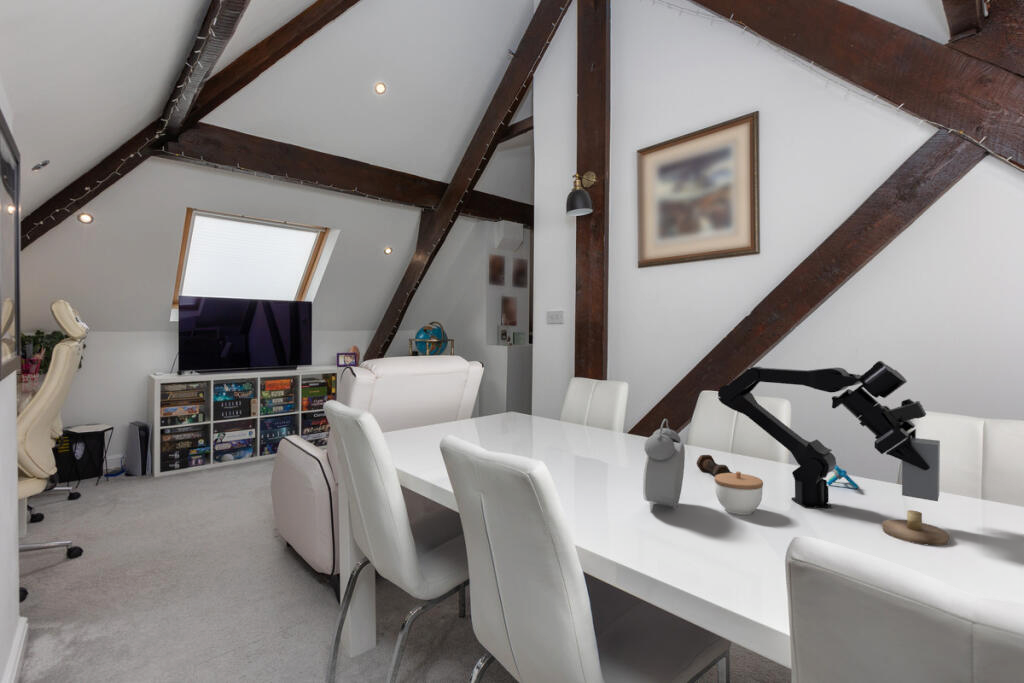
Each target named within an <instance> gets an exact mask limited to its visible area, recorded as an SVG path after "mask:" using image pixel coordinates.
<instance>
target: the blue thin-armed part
mask: <svg viewBox="0 0 1024 683" xmlns="http://www.w3.org/2000/svg"><path fill="white" fill-rule="evenodd" d="M834 470H835V472H834V473H833V474H834V475H832V477H830V478H829V479H828V480H827V486H829V485H830V486H831V485H833V484H834V483H836V481H837V480H842V479H843V478H844V479H845V480H846V481H847V482H848V483H849V484H850V485H852V487H854V488H855V489H856V488H857V487H858V488H859V485H858V484H857V483H856V481H854V480H853V479H852V478H851V477H850V476H849V475H848V474H847V473H848V471H846V469H842V468H841V467H840V466H838V465H837V464H836V467H835V468H834ZM858 488H857V489H858Z"/></svg>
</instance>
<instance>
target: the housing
mask: <svg viewBox="0 0 1024 683" xmlns="http://www.w3.org/2000/svg"><path fill="white" fill-rule="evenodd" d="M907 438H908V437H907ZM912 446H913V447H914V448H915V449H916V451H917V452H918V453H919V454H920V456H921V457H922V458H923V459H924V460H925V462H926V463H927V464H928V465H929V467H930V468H929V469H928V470H923V469H921V468H918V467H916V466H914V465H912V464H909V463H907V462H905V461H903V460H901V461H902V463H901V464H902V465H901V466H902V467H901V468H902V469H901V472H902V473H901V476H902V477H901V480H902V481H901V495H902V496H904V497H909V498H915V499H920V500H927V501H931V502H932V501H934V502H939V498H940V473H941V472H940V467H941V466H940V464H941V462H940V460H941V455H940V454H941V451H940V450H941V441H940V440H939V439H937V440H935V439H927V438H921V437H920V438H917V437H916V438H912Z"/></svg>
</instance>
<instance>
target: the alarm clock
mask: <svg viewBox="0 0 1024 683" xmlns="http://www.w3.org/2000/svg"><path fill="white" fill-rule="evenodd" d="M665 423H666V428H665V427H664V424H665ZM644 452H645V454H646V456H645V462H644V466H643V467H644V468H643V477H642V495H643V499H644V501H646V502H649V512H652V511H653V507H654V505H655V504H660V505H664V506H668V507H669V506H670V507H673V509H676V508H677V506H678V505H679V501H680V497H681V494H682V487H683V480H684V473H685V460H686V459H685V457H686V456H685V453H686V451H685V444H684V443H682V441H681V437H680V435H679V434H678V433H677V432H676V431H675V430H673V429H671V428H670V427H669V420H668V418H664V419H663V420H662V422H661V425H660V428H658V429H656V430H655V431H654V432H653V433H652V435H651V436H649V437H647V438H646V440H645V442H644Z"/></svg>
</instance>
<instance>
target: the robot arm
mask: <svg viewBox="0 0 1024 683" xmlns="http://www.w3.org/2000/svg"><path fill="white" fill-rule="evenodd" d="M759 383H772V384H783V385H796V386H805V387H808V388H811V389H814V390H817V391H818V390H819V391H822V392H827V393H837V392H840V391H844V390H845V391H844V392H842V393H841V394H840V395H839V396H836V395H833V396H832V397H831V401H832V404H831V409H836V408H838V407H840V406H841V405H842V406H843V407H844V408H845V409H846V410H847V411H849V412H850V413H851V414H852V415H853V416H854V417H855V418H856V419H857V420H858V421H859V424H860V426H862V427H866V428H867V429H868V430H869V431H870V432H871V433H872V434H873V435H874V436H875V437H874V439H875V440H874V449H875V450H876V451H878V452H879V453H880V454H881V455H884V453H885V454H886V455H887V456H891V457H893V458H895V459H899V460H901V461H902V460H903V461H905V462H907V463H909V464H912V465H914V466H916V467H918V468H921V469H923V470H928V469H929V468H930V467H929V465H928V464H927V463H926V462H925V460H924V459H923V458H922V457H921V456H920V454H919V453H918V452H917V451H916V449H915V448H914V447H913V446H912V438H917V429H916V428H915V427H916V424H914V423H913V422H912V421H911V420H914V419H921V418H924V417H926V415H927V412H926V410H925V409H924V408H923V405H922V404H921V402H920V401H918V400H917V401H913V400H912V399H911V398H908V399H903V400H902V401H901V403H900V406H898V407H895V408H892V409H891V408H890V407H889V406H887V405H882V404H881V403H880V402H879V401H878V400H876V399H877V398H879V397H881V398H882V399H886V398H887V397H889V396H890V395H891V394H893V393H894V392H895V391H897V390H898V389H900V388H901V387H902V386H904V385H905V384H906V383H908V380H907V379H906V378H905V377H904V376H903V375H902V374H901V373H900V372H899V371H898V370H897V369H894V368H893V367H891V366H889V365H888V364H886V363H884V362H883V361H882V360H878V361H877V362H875V363H874V364H873V365H872V367H870V368H869V369H868V370H867V371H865V373H863V374H862V375H861V374H857V373H856V374H855V373H849V372H848V371H847V370H846V369H845V368H842V367H828V368H827V367H826V368H818V369H817V368H815V369H810V370H809V369H808V370H807V369H806V370H804V369H791V368H790V369H789V368H777V367H775V368H772V367H771V368H770V367H761V366H752V367H749V368H747V369H746V370H745V371H744V372H743V373H742V374H740V375H739V376H738V377H736V378H735V379H734V380H732V381H731V382H730V383H728V384H723V385H722V386H720V387H719V389H718V393H717V396H718V398H717V399H718V401H719V402H720V403H721V404H722V405H724V406H726V407H727V408H729V409H731V410H733V411H736V412H738V413H739V414H742V415H744V416H746V417H747V418H748V419H750V420H751V421H752V422H754V423H755V425H757V426H759V427H760V428H761V429H762V430H763V431H764V432H766V433H767V434H768V435H769V436H771V437H772V438H773V439H775V440H776V441H777V442H778V443H779V444H781V445H782V446H783V447H784V448H786V450H788V451H789V452H790V453H791V455H792V456H793V459H794V460H795V461H796V462H797V464H798V465H799V466H798V467H797V468H796V469H795V470H793V471H792V477H793V478H794V497H793V496H792V497H791V500H792V501H793V502H795V503H796V504H798V505H800V506H802V507H804V508H811V509H812V508H832V505H831V504H830V503H829V502H830V500H829V485H828V484H827V482H828V480H827V479H826V478H827V476H828V474H830V473H831V472H833V471H834V470H835V469H834V468H835V467H836V465H837V460H836V457H835V455H834V454H833V453H832V449H831V448H828V447H826V446H825V445H824V444H823V443H822V442H821V441H820V440H819V439H815V440H813V441H812V440H811V441H808V440H806V439H804V438H803V437H801V436H800V435H799V434H798V433H796V432H795V431H794V430H792V429H791V428H790V427H789V426H787V425H786V424H785V423H783V422H782V421H781V420H780V419H779V418H777V417H776V416H775V415H774V414H772V413H771V412H770V411H768V410H767V409H766V408H764V407H763V406H762V405H760V403H758V400H756V398H755V397H754V395H753V393H752V391H753V390H754V389H755V388H756V387H757V386H758V385H759ZM860 384H861V385H860ZM856 385H857V386H858V385H860V386H858V387H857V388H855V389H854V390H852V389H848V388H849V387H853V386H856ZM875 398H876V399H875ZM914 428H915V429H914ZM912 429H913V430H912ZM909 430H911V431H909ZM907 437H908V438H907Z"/></svg>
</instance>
